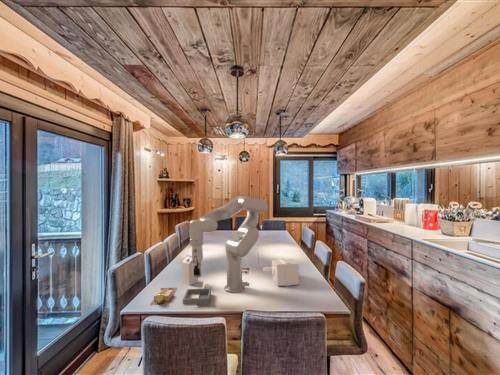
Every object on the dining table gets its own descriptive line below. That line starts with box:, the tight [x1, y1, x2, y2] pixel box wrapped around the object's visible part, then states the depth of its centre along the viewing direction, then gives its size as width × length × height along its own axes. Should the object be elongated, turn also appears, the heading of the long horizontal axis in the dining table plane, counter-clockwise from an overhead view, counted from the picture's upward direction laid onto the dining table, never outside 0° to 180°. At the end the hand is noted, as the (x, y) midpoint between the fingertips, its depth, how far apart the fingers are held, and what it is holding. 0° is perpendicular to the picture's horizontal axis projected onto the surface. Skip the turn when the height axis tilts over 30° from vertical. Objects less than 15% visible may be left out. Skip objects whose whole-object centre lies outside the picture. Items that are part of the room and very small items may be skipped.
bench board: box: [149, 287, 178, 306], centre depth 150 cm, size 10×23×1 cm, turn 4°
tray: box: [182, 287, 212, 306], centre depth 147 cm, size 14×14×4 cm
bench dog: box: [156, 292, 164, 306], centre depth 141 cm, size 4×4×5 cm
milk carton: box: [181, 254, 199, 286], centre depth 171 cm, size 7×7×19 cm
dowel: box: [194, 262, 202, 278], centre depth 147 cm, size 4×4×7 cm
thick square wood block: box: [153, 289, 174, 301], centre depth 147 cm, size 8×8×3 cm
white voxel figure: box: [263, 258, 300, 287], centre depth 179 cm, size 15×25×28 cm
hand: (197, 273), depth 147 cm, fingers closed on dowel, 4 cm apart
